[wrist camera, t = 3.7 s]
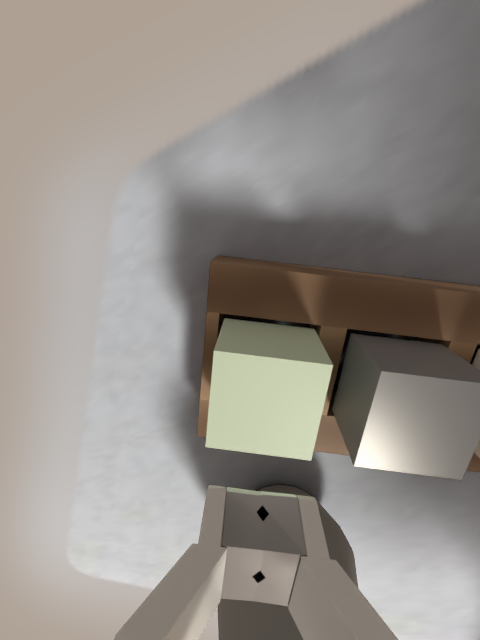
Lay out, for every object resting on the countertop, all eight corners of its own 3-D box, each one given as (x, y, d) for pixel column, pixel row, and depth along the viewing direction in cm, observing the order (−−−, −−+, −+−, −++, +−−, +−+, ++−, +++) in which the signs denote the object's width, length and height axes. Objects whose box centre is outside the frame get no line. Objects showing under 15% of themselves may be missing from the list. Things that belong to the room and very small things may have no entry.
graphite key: (415, 420, 18) (461, 480, 14) (332, 409, 18) (353, 466, 14) (441, 344, 17) (503, 385, 12) (350, 333, 17) (381, 371, 13)
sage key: (299, 405, 18) (311, 460, 14) (217, 395, 18) (205, 447, 14) (314, 328, 17) (333, 365, 13) (224, 318, 17) (213, 350, 13)
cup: (215, 468, 24) (188, 632, 14) (337, 461, 23) (392, 631, 14) (231, 553, 27) (217, 737, 17) (339, 550, 26) (387, 741, 16)
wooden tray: (495, 444, 22) (531, 478, 19) (204, 408, 22) (196, 436, 19) (564, 296, 18) (622, 310, 15) (217, 255, 19) (210, 262, 16)
